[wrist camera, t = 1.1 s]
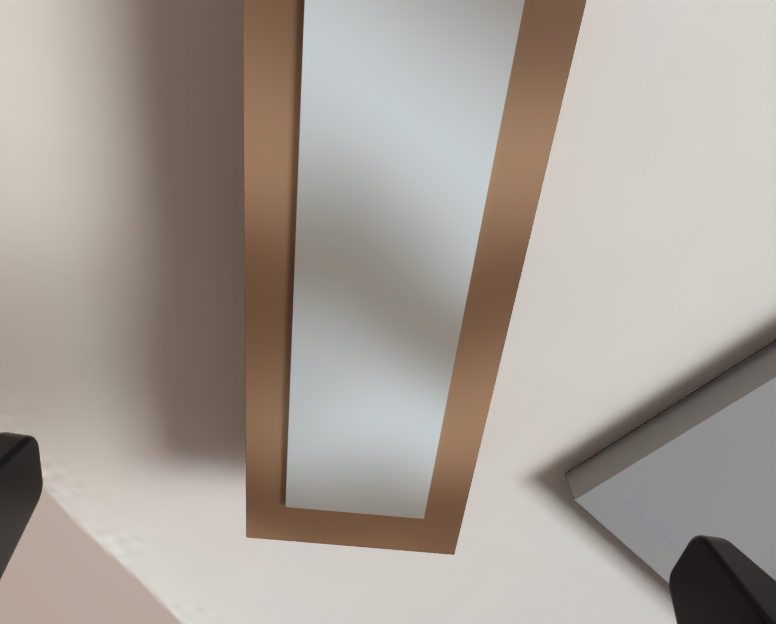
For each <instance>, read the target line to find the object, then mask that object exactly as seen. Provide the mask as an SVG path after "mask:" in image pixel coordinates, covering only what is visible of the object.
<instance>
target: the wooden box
mask: <svg viewBox="0 0 776 624" xmlns="http://www.w3.org/2000/svg"><path fill="white" fill-rule="evenodd" d="M585 4H586V0H243V67H244V230H245V394H246V537H249V538H261V539H273V540H285V541H297V542H309V543H321V544H333V545H345V546H357V547H369V548H381V549H393V550H405V551H417V552H428V553H440V554H452V555H454V553H455V549H456V545H457V540H458V536H459V532H460V528H461V524H462V520H463V515H464V511H465V507H466V503H467V499H468V494H469V490H470V486H471V482H472V478H473V473H474V469H475V465H476V461H477V457H478V452H479V448H480V444H481V440H482V436H483V431H484V427H485V423H486V419H487V415H488V411H489V406H490V402H491V398H492V394H493V390H494V385H495V381H496V377H497V373H498V369H499V364H500V360H501V356H502V352H503V348H504V343H505V339H506V335H507V331H508V327H509V322H510V318H511V314H512V310H513V306H514V302H515V297H516V293H517V289H518V285H519V281H520V276H521V272H522V268H523V264H524V260H525V255H526V251H527V247H528V243H529V239H530V234H531V230H532V226H533V222H534V218H535V213H536V209H537V205H538V201H539V197H540V193H541V188H542V184H543V180H544V176H545V172H546V167H547V163H548V159H549V155H550V151H551V146H552V142H553V138H554V134H555V130H556V125H557V121H558V117H559V113H560V109H561V104H562V100H563V96H564V92H565V88H566V84H567V79H568V75H569V71H570V67H571V63H572V58H573V54H574V50H575V46H576V42H577V37H578V33H579V29H580V25H581V21H582V16H583V12H584V8H585Z"/></svg>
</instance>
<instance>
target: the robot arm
mask: <svg viewBox="0 0 776 624" xmlns="http://www.w3.org/2000/svg"><path fill="white" fill-rule="evenodd" d="M42 486H43V479H42V471H41V463H40V454H39V446H38V442H37V440H36V439H35V438H34V437H32V436H29V435H22V434H15V433H8V432H2V433H0V579H1V577H2V575H3V573H4V571H5V569H6V567H7V565H8V563H9V561H10V559H11V557H12V555H13V552H14V550H15V548H16V546H17V544H18V542H19V540H20V538H21V536H22V534H23V532H24V530H25V528H26V525H27V524H28V522H29V519H30V518H31V515H32V513H33V511H34V509H35V507H36V505H37V503H38V501H39V498H40V495H41V492H42ZM669 589H670V594H671V599H672V603H673V607H674V612H675V616H676V621H677V624H776V581H775V580H774V579H773V578H772V577H771V576H770V575H768V574H767V573H766V572H765V571H764V570H763V569H761V568H760V567H759V566H758V565H757V564H755V563H754V562H753V561H752V560H751V559H750V558H748V557H747V556H746V555H745V554H744V553H743V552H741V551H740V550H739V549H738V548H737V547H736V546H734V545H733V544H732V543H731V542H729V541H728V540H726V539H723V538H718V537H712V536H705V535H697V536H695V537H693V538H692V539H691V540H690V541H689V543H688V545H687V546H686V548H685V549H684V551H683V553H682V554H681V556H680V558H679V559H678V561H677V562H676V564H675V566H674V567H673V569H672V571H671V574H670V578H669Z"/></svg>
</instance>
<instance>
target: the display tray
mask: <svg viewBox="0 0 776 624" xmlns="http://www.w3.org/2000/svg"><path fill="white" fill-rule="evenodd" d="M566 477H567V480H568V483H569V485H570V488H571V491H572V494H573V497H574V500H575V501H576V502H577V503H578V504H580V505H581V506H582V507H583V508H584V509H585V510H586V511H587V512H589V513H590V514H591V515H592V516H593V517H594V518H595V519H597V520H598V521H599V522H600V523H601V524H602V525H603V526H604V527H606V528H607V529H608V530H609V531H610V532H611V533H612V534H613V535H615V536H616V537H617V538H618V539H619V540H620V541H621V542H623V543H624V544H625V545H626V546H627V547H628V548H629V549H630V550H632V551H633V552H634V553H635V554H636V555H637V556H638V557H639V558H641V559H642V560H643V561H644V562H645V563H646V564H647V565H649V566H650V567H651V568H652V569H653V570H654V571H655V572H656V573H658V574H659V575H660V576H661V577H662V578H663V579H664V580H665V581H667V582H668V583H669V578H670V574H671V571H672V569H673V567H674V566H675V564H676V562H677V561H678V559H679V558H680V556H681V554H682V553H683V551H684V549H685V548H686V546H687V545H688V543H689V541H690V540H691V539H692V538H693V537H695V536H697V535H705V536H712V537H718V538H723V539H726V540H728V541H729V542H731V543H732V544H733V545H734V546H736V547H737V548H738V549H739V550H740V551H741V552H743V553H744V554H745V555H746V556H747V557H748V558H750V559H751V560H752V561H753V562H754V563H755V564H757V565H758V566H759V567H760V568H761V569H763V570H764V571H765V572H766V573H767V574H768V575H770V576H771V577H772V578H773V579H774V580H775V581H776V341H774V342H773V343H771V344H769V345H768V346H766V347H765V348H763V349H761V350H760V351H758V352H757V353H755V354H754V355H752V356H750V357H749V358H747V359H746V360H744V361H743V362H741V363H739V364H738V365H736V366H735V367H733V368H732V369H730V370H728V371H727V372H725V373H724V374H722V375H720V376H719V377H717V378H716V379H714V380H713V381H711V382H709V383H708V384H706V385H705V386H703V387H702V388H700V389H698V390H697V391H695V392H694V393H692V394H690V395H689V396H687V397H686V398H684V399H683V400H681V401H679V402H678V403H676V404H675V405H673V406H672V407H670V408H668V409H667V410H665V411H664V412H662V413H661V414H659V415H657V416H656V417H654V418H653V419H651V420H649V421H648V422H646V423H645V424H643V425H642V426H640V427H638V428H637V429H635V430H634V431H632V432H631V433H629V434H627V435H626V436H624V437H623V438H621V439H620V440H618V441H616V442H615V443H613V444H612V445H610V446H608V447H607V448H605V449H604V450H602V451H601V452H599V453H597V454H596V455H594V456H593V457H591V458H590V459H588V460H586V461H585V462H583V463H582V464H580V465H578V466H577V467H575V468H574V469H572V470H571V471H569V472H567V473H566Z"/></svg>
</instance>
